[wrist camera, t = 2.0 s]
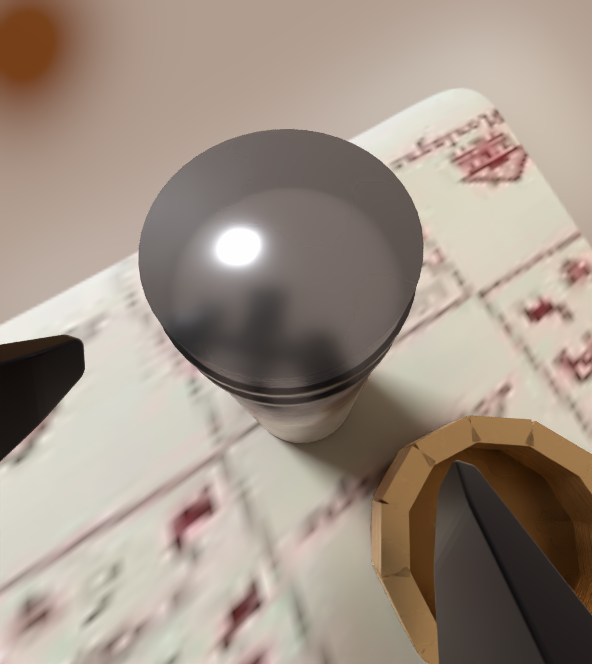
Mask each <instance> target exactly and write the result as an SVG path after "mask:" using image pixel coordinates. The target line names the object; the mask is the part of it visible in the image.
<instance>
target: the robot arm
mask: <svg viewBox="0 0 592 664" xmlns="http://www.w3.org/2000/svg"><path fill="white" fill-rule="evenodd" d="M84 370H85V360H84V345H83V342H82V341H81V340H80V339H79V338H75V337H72V336H69V335H58V336H52V337H45V338H39V339H33V340H27V341H20V342H14V343H8V344H2V345H0V461H1V460H3V459H4V458H5V457H6V456H7V455H8V454H9V453H10V452H11V451H12V450H13V449H14V448H15V447H16V446H17V445H18V444H20V443H21V442H22V441H23V440H24V439H25V438H26V437H27V436H28V435H29V434H30V433H31V432H32V431H33V430H34V429H35V428H36V427H37V426H38V425H39V424H40V423H41V422H42V421H43V420H44V419H45V418H46V417H47V416H48V415H49V413H50V412H51V411H52V410H53V409H54V408H55V407H56V405H57V404H58V403H59V402H60V401H61V400H62V399H63V398H64V396H65V395H66V394H67V393H68V392H69V391H70V390H71V388H72V387H73V386H74V385H75V384H76V383H77V382H78V380H79V379H80V378H81V377H82V375H83V373H84ZM434 585H435V603H436V621H437V639H438V657H439V664H592V614H591V613H590V612H589V610H588V609H587V608H586V606H585V605H584V604H583V603H582V601H581V600H580V599H579V598H578V596H577V595H576V594H575V592H574V591H573V590H572V589H571V587H570V586H569V585H568V584H567V582H566V581H565V580H564V578H563V577H562V576H561V575H560V573H559V572H558V571H557V569H556V568H555V567H554V566H553V564H552V563H551V562H550V561H549V559H548V558H547V557H546V555H545V554H544V553H543V552H542V550H541V549H540V548H539V546H538V545H537V544H536V543H535V541H534V540H533V539H532V538H531V536H530V535H529V534H528V532H527V531H526V530H525V529H524V527H523V526H522V525H521V524H520V522H519V521H518V520H517V518H516V517H515V516H514V515H513V513H512V512H511V511H510V509H509V508H508V507H507V506H506V504H505V503H504V502H503V501H502V499H501V498H500V497H499V495H498V494H497V493H496V492H495V490H494V489H493V488H492V486H491V485H490V484H489V483H488V481H487V480H486V479H485V478H484V476H483V475H482V474H481V472H480V471H479V470H478V469H477V468H476V466H474V465H472V464H469V463H466V462H463V461H459V460H455V461H454V462H453V463H452V464H451V466H450V468H449V470H448V472H447V474H446V476H445V478H444V480H443V482H442V484H441V486H440V489H439V492H438V501H437V518H436V534H435V550H434Z"/></svg>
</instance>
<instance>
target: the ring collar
mask: <svg viewBox="0 0 592 664" xmlns="http://www.w3.org/2000/svg"><path fill="white" fill-rule="evenodd" d="M402 448H403V449H401V450H399V452H398V454H397V455H396V457H395V459H394V460H393V462H392V463H391V465H390V466H389V468H388V469H387V471H386V472H385V474H384V476H383V478H382V480H381V482H380V484H379V487H378V488H377V490H376V492H375V494H374V495H373V496H374V497H375V499H374V500H372V515H371V545H372V562H373V564H374V565H373V567H374V569H375V571H376V574H377V576H378V578H379V580H380V582H381V584H382V586H383V588H384V591H385V593H386V595H387V596H388V598H389V601H390V603H391V605H392V607H393V609H394V611H395V613H396V615H397V617H398V619H399V621H400V623H401V625H402V627H403V629H404V631H405V632H406V634H407V636H408V638H409V639H410V641H411V643H412V644H413V646H414V648H415V649H416V651H417V653H419V655H420V656H421V658H422V659H424V660H425V661H426V662H428V663H429V664H439V657H438V639H437V621H436V603H435V585H434V550H435V534H436V518H437V501H438V492H439V489H440V486H441V484H442V482H443V480H444V478H445V476H446V474H447V472H448V470H449V468H450V466H451V464H452V463H453V462H454V461H455V460H459V461H463V462H466V463H469V464H472V465H474V466H476V468H477V469H478V470H479V471H480V472H481V474H482V475H483V476H484V478H485V479H486V480H487V481H488V483H489V484H490V485H491V486H492V488H493V489H494V490H495V492H496V493H497V494H498V495H499V497H500V498H501V499H502V501H503V502H504V503H505V504H506V506H507V507H508V508H509V509H510V511H511V512H512V513H513V515H514V516H515V517H516V518H517V520H518V521H519V522H520V524H521V525H522V526H523V527H524V529H525V530H526V531H527V532H528V534H529V535H530V536H531V538H532V539H533V540H534V541H535V543H536V544H537V545H538V546H539V548H540V549H541V550H542V552H543V553H544V554H545V555H546V557H547V558H548V559H549V561H550V562H551V563H552V564H553V566H554V567H555V568H556V569H557V571H558V572H559V573H560V575H561V576H562V577H563V578H564V580H565V581H566V582H567V584H568V585H569V586H570V587H571V589H572V590H573V591H574V592H575V594H576V595H577V596H578V598H579V599H580V600H581V601H582V603H583V604H584V605H585V606H586V608H587V609H588V610H589V612H590V613H591V614H592V454H590V453H589V452H587V451H585V450H584V449H582V448H580V447H579V446H577V445H575V444H574V443H572V442H570V441H568V440H567V439H565V438H563V437H562V436H560V435H558V434H557V433H555V432H553V431H552V430H550V429H548V428H546V427H545V426H543V425H541V424H540V423H538V422H536V421H533V422H531V420H529V419H514V418H499V417H484V416H468V417H467V416H466V417H464V418H461V419H459V420H456V421H454V422H451V423H448V424H446V425H444V426H442V427H440V428H438V429H437V430H435V431H433V432H431V433H429V434H427V435H425V436H422V437H421V438H419V439H417V440H415V441H414V442H412V443H410V444H408V445H406V446H404V447H402Z"/></svg>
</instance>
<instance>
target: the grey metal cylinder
mask: <svg viewBox="0 0 592 664" xmlns="http://www.w3.org/2000/svg"><path fill="white" fill-rule="evenodd" d="M423 245H424V244H423V235H422V227H421V224H420V220H419V216H418V213H417V210H416V208H415V206H414V203H413V201H412V199H411V197H410V195H409V194H408V192H407V190H406V189H405V187H404V186H403V184H402V183H401V182H400V180H399V179H398V178H397V177H396V176H395V174H394V173H393V172H392V171H391V170H390V169H389V168H388V167H387V166H385V165H384V164H383V163H382V162H381V161H380V160H379V159H377V158H376V157H374V156H373V155H372V154H370V153H369V152H367V151H365V150H364V149H362V148H360V147H358V146H356V145H355V144H352V143H350V142H348V141H345V140H343V139H340V138H338V137H334V136H331V135H327V134H324V133H319V132H313V131H307V130H294V129H282V130H281V129H280V130H268V131H260V132H254V133H250V134H246V135H242V136H239V137H236V138H233V139H230V140H227V141H224V142H222V143H220V144H218V145H216V146H214V147H212V148H210V149H208V150H206V151H205V152H203V153H201V154H200V155H198V156H196V157H195V158H194V159H192V160H191V161H190V162H188V163H187V164H186V165H184V166H183V167H182V168H181V169H180V170H179V171H178V172H177V173H176V174H175V175H174V176H173V177H172V178H171V179H170V180H169V181H168V183H167V184H166V185H165V186H164V187H163V189H162V190H161V191H160V193H159V194H158V196H157V198H156V199H155V201H154V203H153V205H152V206H151V208H150V210H149V213H148V215H147V217H146V220H145V223H144V226H143V229H142V232H141V238H140V245H139V271H140V279H141V283H142V286H143V290H144V293H145V296H146V299H147V301H148V303H149V305H150V307H151V309H152V311H153V313H154V314H155V316H156V317H157V319H158V320H159V322H160V323H161V325H162V326H163V329H164V331H165V333H166V334H167V336H168V337H169V338H170V340H171V341H172V343H173V344H174V346H175V347H176V348H177V349H178V350H179V351H180V352H181V354H182V355H183V356H184V357H185V358H186V359H187V360H188V361H189V362H190V363H192V364H193V365H194V366H195V367H196V368H197V369H198V370H199V371H200V372H201V373H202V374H203V375H204V376H206V377H207V378H208V379H209V380H211V381H212V382H213V383H214V384H216V385H217V386H218V387H220V388H222V389H223V390H225V391H227V392H228V393H230V394H231V395H232V396H233V397H234V398H235V399H236V400H237V401H238V402H239V403H240V404H241V405H242V406H243V407H244V408H245V409H246V410H247V411H248V412H249V413H250V414H251V415H252V416H253V417H254V418H255V419H256V420H257V421H258V422H259V423H260V424H261V425H262V426H263V427H264V428H265V429H266V430H267V431H269V432H270V433H271V434H273V435H274V436H276V437H278V438H280V439H282V440H285V441H288V442H293V443H310V442H314V441H318V440H321V439H323V438H325V437H327V436H329V435H330V434H332V433H333V432H334V431H336V430H337V429H338V428H339V427H340V426H341V425H342V423H343V422H344V421H345V419H346V417H347V416H348V414H349V412H350V410H351V408H352V406H353V405H354V403H355V401H356V399H357V397H358V395H359V394H360V392H361V390H362V388H363V386H364V384H365V383H366V381H367V379H368V377H369V375H370V373H371V372H372V371H373V369H374V368H375V367H376V366H377V365H378V364H379V363H380V362H381V360H382V359H383V358H384V356H385V355H386V353H387V352H388V350H389V349H390V347H391V345H392V343H393V341H394V340H395V338H396V337H397V335H398V333H399V332H400V330H401V328H402V326H403V324H404V322H405V321H406V319H407V317H408V315H409V312H410V309H411V306H412V303H413V301H414V296H415V291H416V286H417V283H418V280H419V278H420V273H421V268H422V263H423Z"/></svg>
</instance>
